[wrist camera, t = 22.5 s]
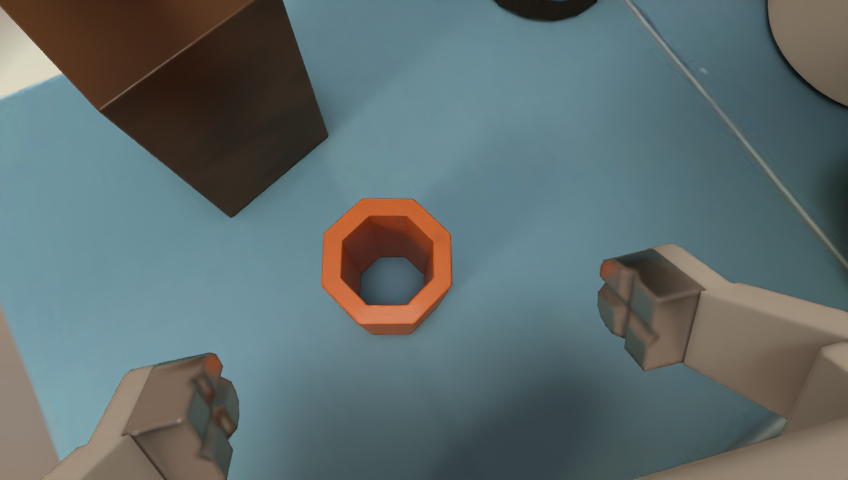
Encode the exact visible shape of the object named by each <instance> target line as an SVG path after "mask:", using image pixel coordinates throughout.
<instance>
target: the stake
mask: <svg viewBox="0 0 848 480" xmlns="http://www.w3.org/2000/svg"><path fill="white" fill-rule="evenodd" d="M0 7H1V8H2V9H3V10H4V11H5V12H6V13H7V14H8V15H9V16H10V17H11V18H12V19H13V20H14V21H15V23H16V24H17V25H18V26H19V27H20V28H21V29H22V30H23V31H24V32H25V33H26V34H27V35H28V36H29V38H30V39H31V40H32V41H33V42H34V43H35V44H36V45H37V46H38V47H39V48H40V49H41V50H42V51H43V53H45V55H46V56H47V57H48V58H49V59H50V60H51V61H52V62H53V63H54V64H55V65H56V66H57V67H58V69H59V70H60V71H61V72H62V73H63V74H64V75H65V76H66V77H67V78H68V79H69V80H70V81H71V82H72V83H73V85H74V86H75V87H76V88H77V89H78V90H79V91H80V92H81V93H82V94H83V95H84V96H85V97H86V98H87V100H88V101H89V102H90V103H91V104H92V105H93V106H94V107H95V108H96V109H97V110H98V111H99V112H100V113H101V114H102V115H104V116H105V117H106V118H107V119H109V120H110V121H111V122H112V123H114V124H115V125H116V126H117V127H119V128H120V129H121V130H122V131H124V132H125V133H126V134H127V135H128V136H130V137H131V138H132V139H133V140H135V141H136V142H137V143H138V144H140V145H141V146H142V147H143V148H145V149H146V150H147V151H148V152H150V153H151V154H152V155H153V156H154V157H156V158H157V159H158V160H159V161H161V162H162V163H163V164H164V165H166V166H167V167H168V168H169V169H171V170H172V171H173V172H174V173H176V174H177V175H178V176H179V177H180V178H182V179H183V180H184V181H185V182H187V183H188V184H189V185H190V186H192V187H193V188H194V189H195V190H197V191H198V192H199V193H200V194H202V195H203V196H204V197H205V198H206V199H208V200H209V201H210V202H211V203H213V204H214V205H215V206H216V207H218V208H219V209H220V210H221V211H223V212H224V213H225V214H226V215H228V216H229V217H230V218H231V217H233V216H234V215H235V214H236V213H237V212H239V211H240V210H241V209H242V208H243V207H245V206H246V205H247V204H248V203H249V202H251V201H252V200H253V199H254V198H255V197H257V196H258V195H259V194H260V193H261V192H262V191H264V190H265V189H266V188H267V187H268V186H270V185H271V184H272V183H273V182H274V181H276V180H277V179H278V178H279V177H280V176H282V175H283V174H284V173H285V172H286V171H287V170H289V169H290V168H291V167H292V166H293V165H295V164H296V163H297V162H298V161H299V160H301V159H302V158H303V157H304V156H305V155H307V154H308V153H309V152H310V151H311V150H312V149H314V148H315V147H316V146H317V145H318V144H320V143H321V142H322V141H323V140H324V139H326V138H327V137H328V133H327V130H326V127H325V125H324V122H323V119H322V116H321V113H320V110H319V107H318V104H317V101H316V98H315V95H314V92H313V89H312V86H311V83H310V80H309V77H308V74H307V71H306V68H305V65H304V62H303V59H302V56H301V53H300V50H299V47H298V44H297V42H296V39H295V36H294V33H293V30H292V27H291V24H290V21H289V18H288V15H287V12H286V9H285V6H284V3H283V0H0Z"/></svg>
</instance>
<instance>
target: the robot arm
mask: <svg viewBox="0 0 848 480" xmlns="http://www.w3.org/2000/svg"><path fill="white" fill-rule="evenodd" d="M768 16H769V22H770V26H771V30H772V33H773V36H774V38H775V40H776V42H777V45H778V46H779V48H780V50H781V52H782V53H783V55H784V56H785V58H786V59H787V61H788V62H789V63H790V64H791V66H792V67H793V68H794V69H795V70H796V71H797V72H798V73H799V74H800V75H801V76H802V77H803V78H804V79H805V80H806V81H807V82H808V83H809V84H811V85H812V86H813V87H814V88H816V89H817V90H819V91H820V92H821V93H823V94H825V95H826V96H828V97H829V98H831V99H833V100H835V101H837V102H839V103H841V104H843V105H845V106H847V107H848V0H768ZM600 277H601V278H602V279H603V280H604V281H605V284H604V285H603V286H602V288H601V289H600V291H599V292H598V308H599V312H600V316H601V318H602V320H603V322H604V324H605V326H606V327H607V328H608V329H609V330H610V332H611V333H612V334H614V335H617V336H619V337H621V338H624V339H625V346H624V348H625V350H626V351H627V352H628V353H629V354H630V355H631V357H632V358H633V359H634V360H635V361H636V362H637V364H638V365H639V366H640V367H641V368H642V369H643V371H648V370H652V369H656V368H660V367H665V366H669V365H673V364H677V363H682V362H684V363H683V364H684V365H686V366H688V367H690V368H691V369H693V370H695V371H697V372H699V373H701V374H703V375H705V376H707V377H708V378H710V379H712V380H714V381H716V382H718V383H720V384H722V385H724V386H725V387H727V388H729V389H731V390H733V391H735V392H737V393H739V394H740V395H742V396H744V397H746V398H748V399H750V400H752V401H754V402H756V403H757V404H759V405H761V406H763V407H765V408H767V409H769V410H771V411H773V412H774V413H776V414H778V415H780V416H782V417H784V418H786V419H788V420H787V422H786V425H785V427H784V429H783V431H782V433H781V435H780V436H779V437H775V438H772V439H769V440H765V441H762V442H758V443H755V444H752V445H748V446H745V447H741V448H738V449H734V450H731V451H728V452H724V453H721V454H717V455H714V456H711V457H707V458H704V459H700V460H697V461H693V462H690V463H687V464H683V465H680V466H676V467H673V468H670V469H666V470H663V471H659V472H656V473H653V474H649V475H646V476H642V477H639V478H635V479H632V480H848V312H846V311H843V310H839V309H835V308H832V307H828V306H824V305H821V304H817V303H813V302H810V301H806V300H802V299H799V298H795V297H791V296H788V295H784V294H781V293H777V292H773V291H770V290H766V289H762V288H759V287H755V286H751V285H748V284H744V283H740V282H738V283H734V284H732V283H730V282H729V281H728V280H726V279H725V278H723V277H722V276H721V275H719V274H718V273H716V272H715V271H713V270H712V269H711V268H709V267H708V266H706V265H705V264H704V263H702V262H701V261H699V260H698V259H697V258H695V257H694V256H692V255H691V254H689V253H688V252H687V251H685V250H684V249H682V248H681V247H680V246H678V245H676V244H672V243H668V244H664V245H660V246H656V247H653V248H649V249H647V250H643V251H639V252H635V253H631V254H627V255H622V256H618V257H614V258H610V259H606V260H604V261H603V263H602V265H601V268H600ZM222 368H223V365H222V363H221V362H220V360H219V358H218V357H217V355H216V354H214V353H205V354H200V355H196V356H191V357H186V358H182V359H177V360H172V361H168V362H163V363H158V364H156V365H151V366H146V367H141V368H137V369H132V370H130V371H129V372H128V373H126V374H125V375H124V376H123V378H122V380H121V382H120V384H119V386H118V387H117V389H116V391H115V393H114V395H113V397H112V399H111V401H110V403H109V404H108V406H107V408H106V410H105V412H104V414H103V416H102V418H101V420H100V421H99V423H98V425H97V427H96V429H95V431H94V433H93V435H92V437H91V438H90V440H89V442H88V444H87V445H85V446H81V447H78V448H76V449H75V450H74V451H73V452H72V453H71V454H69V455H68V456H67V457H66V458H65V459H64V460H63V461H61V462H60V463H59V464H58V465H57V466H56V467H55V468H53V469H52V470H51V471H50V472H49V473H48V474H46V476H44V477H43V478H42V479H41V480H227V477H228V472H229V467H230V462H231V457H232V452H233V449H232V447H231V445H230V443H229V442H228V439H229V438H230V437H231V436H232V434H233V433H234V432H235V431H236V430H237V427H238V421H239V400H238V397H237V393H236V390H235V388H234V386H233V384H232V382H231V381H229V380H227V379H225V378H223V377H221V372H222Z"/></svg>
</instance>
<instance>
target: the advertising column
mask: <svg viewBox="0 0 848 480" xmlns="http://www.w3.org/2000/svg"><path fill="white" fill-rule="evenodd" d="M496 1H497V2H498V3H500V4H501V5H502V6H504V7H506V8H508V9H510V10H513V11H515V12H517V13H519V14H521V15H523V16H525V17H532V18H540V19H549V20H555V19H560V18H565V17H570V16H574V15H578V14H580V13H581V12H583V11H584V10H586V9H587V8H588V7H590V6H591V5H593V4H594V3H596V2H597V0H496Z"/></svg>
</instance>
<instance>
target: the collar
mask: <svg viewBox="0 0 848 480" xmlns="http://www.w3.org/2000/svg"><path fill="white" fill-rule="evenodd" d="M379 257H406V258H407V259H408V260H409V261H410V262H411V263H412V264H413V265H414V266H415V267H416V268H417V269H418V270H419V271H420V272H421V273H422V274H423V275H424V287H423V288H422V289H421V290H420V291H419V292H418V293H417V294H416V295H415V296H414V297H413V298H412V299H411V300H410V301H409V302H408V303H407V304H406V305H367V304H366V303H365V302H364V301H363V300H362V299H361V298H360V275H361V274H362V273H363V272H364V271H365V270H366V269H367V268H368V267H369V266H370V265H371V264H372V263H373V262H374V261H376V260H377V259H378V258H379ZM321 285H322V287H323V288H324V289H325V290H326V291H327V292H328V293H329V295H330V296H331V297H332V298H333V299H334V300H335V301H336V302H337V303H338V304H339V305H340V306H341V307H342V308H343V309H344V310H345V311H346V312H347V313H348V314H349V315H350V316H351V317H352V318H353V319H354V320H355V321H356V322H357V323H358V324H359V325H360V326H362V327H363V328H364V329H366V330H367V331H368V332H370V333H371V334H373V335H385V334H411V333H413V332H414V331H415V330H416V329H417V328H418V327H419V325H420V324H421V323H422V322H423V321H424V320H425V319H426V318H427V317H428V316H429V315H430V314H431V313H432V312H433V311H434V310H435V309H436V308H437V307H438V305H439V304H440V302H441V301H442V299H443V298H444V296H445V295H446V293H447V292H448V290H449V289H450V288H451V285H452V261H451V235H450V233H449V232H448V231H447V230H446V229H445V228H444V227H443V226H442V225H441V224H440V223H439V222H438V221H437V220H435V219H434V218H433V217H432V216H431V215H430V214H429V213H428V212H427V211H426V210H425V209H424V208H423V207H422V206H421V205H420V204H419V203H417V202H416V201H415V200H414V199H361V200H360V201H359V202H358V203H357V204H356V205H355V206H354V207H352V208H351V209H350V210H349V211H348V212H347V213H346V214H345V215H344V216H343V217H341V218H340V219H339V220H338V221H337V222H336V223H335V224H334V225H333V226H331V227H330V228H329V229H328V230H327V231H326V232H325V233H324V241H323V260H322V280H321Z"/></svg>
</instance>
